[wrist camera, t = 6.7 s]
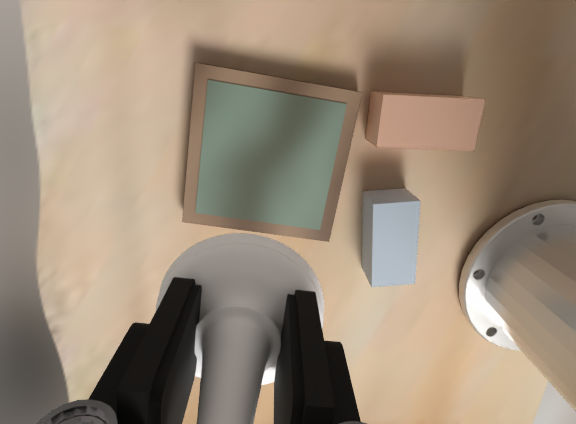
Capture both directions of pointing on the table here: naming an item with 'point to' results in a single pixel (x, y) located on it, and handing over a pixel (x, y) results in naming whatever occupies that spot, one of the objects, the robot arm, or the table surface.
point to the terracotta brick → (423, 121)
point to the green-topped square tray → (266, 152)
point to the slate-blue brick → (390, 236)
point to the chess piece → (239, 317)
